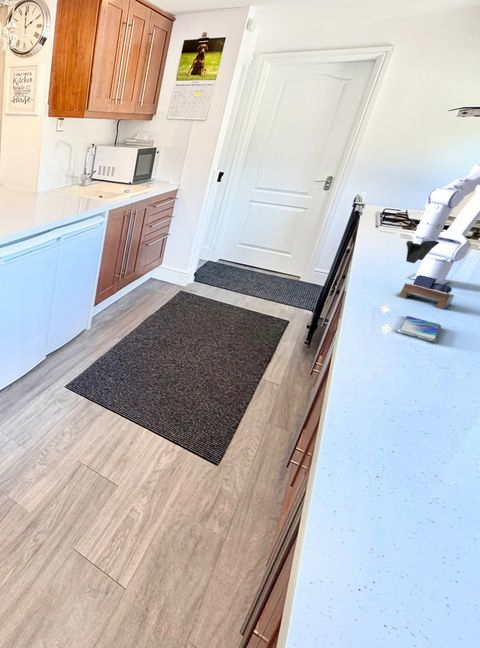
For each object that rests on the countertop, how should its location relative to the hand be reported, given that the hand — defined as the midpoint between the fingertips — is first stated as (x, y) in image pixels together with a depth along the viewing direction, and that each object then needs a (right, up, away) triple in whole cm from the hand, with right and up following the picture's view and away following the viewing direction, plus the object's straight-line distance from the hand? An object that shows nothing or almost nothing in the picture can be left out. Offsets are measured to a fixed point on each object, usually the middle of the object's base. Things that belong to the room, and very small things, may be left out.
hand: (414, 260), depth 143 cm
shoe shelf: (-7, -13, -9) cm, 18 cm away
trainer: (-7, -10, -10) cm, 16 cm away
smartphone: (-31, -21, -29) cm, 47 cm away
